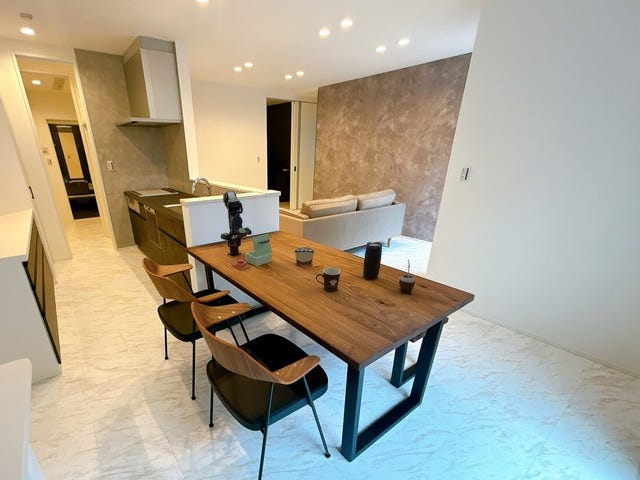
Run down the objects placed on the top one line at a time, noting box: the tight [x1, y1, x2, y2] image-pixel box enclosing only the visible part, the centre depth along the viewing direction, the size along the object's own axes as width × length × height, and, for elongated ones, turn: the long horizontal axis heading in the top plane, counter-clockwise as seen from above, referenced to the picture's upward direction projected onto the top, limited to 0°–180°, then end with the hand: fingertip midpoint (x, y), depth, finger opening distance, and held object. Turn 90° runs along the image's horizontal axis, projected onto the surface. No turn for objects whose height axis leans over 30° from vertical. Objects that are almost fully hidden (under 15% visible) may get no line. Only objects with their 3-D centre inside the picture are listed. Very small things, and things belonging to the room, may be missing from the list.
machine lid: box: [251, 233, 273, 257], centre depth 181 cm, size 12×13×5 cm
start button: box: [237, 258, 245, 264], centre depth 181 cm, size 4×4×2 cm
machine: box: [244, 250, 273, 267], centre depth 190 cm, size 12×13×5 cm
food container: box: [293, 246, 315, 267], centre depth 183 cm, size 12×6×10 cm, turn 84°
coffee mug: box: [315, 267, 342, 293], centre depth 150 cm, size 12×9×10 cm
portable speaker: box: [362, 241, 383, 281], centre depth 160 cm, size 9×9×20 cm
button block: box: [232, 260, 251, 271], centre depth 182 cm, size 10×6×3 cm, turn 41°
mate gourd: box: [398, 259, 416, 295], centre depth 145 cm, size 8×8×15 cm
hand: (237, 247), depth 179 cm, fingers closed
